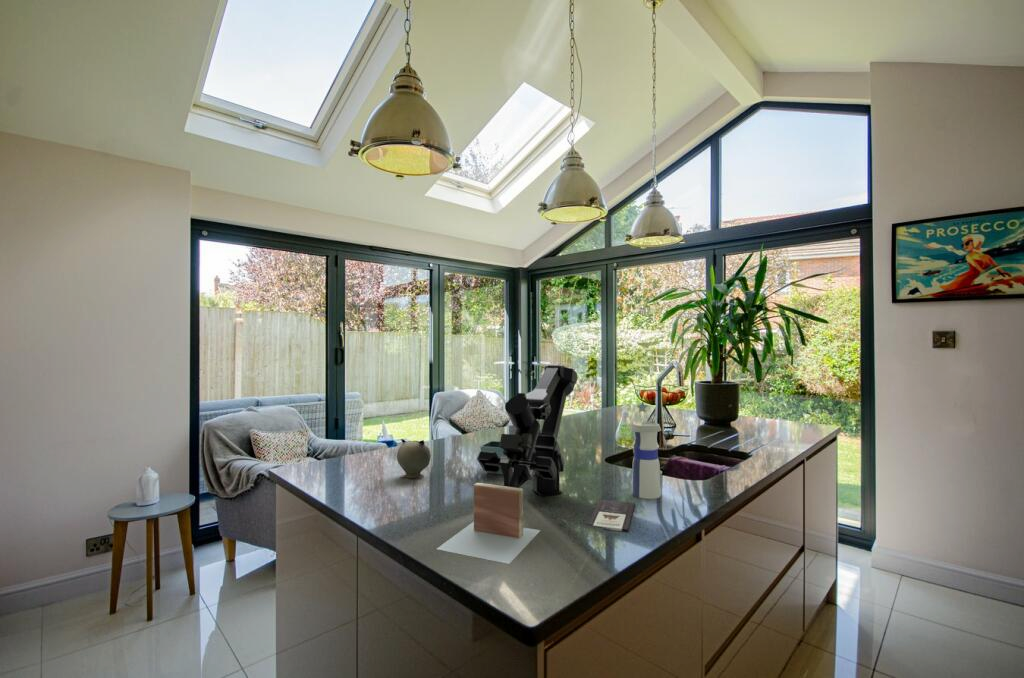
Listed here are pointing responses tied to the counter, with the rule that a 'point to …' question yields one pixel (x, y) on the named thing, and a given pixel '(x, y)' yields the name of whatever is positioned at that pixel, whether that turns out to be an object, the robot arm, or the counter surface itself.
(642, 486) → the water bottle
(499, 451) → the flower pot
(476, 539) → the light gray mat
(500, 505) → the birch tile
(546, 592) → the counter surface
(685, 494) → the counter surface
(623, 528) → the chocolate bar
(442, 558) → the counter surface
